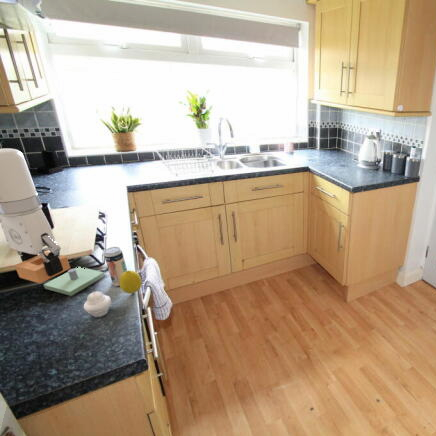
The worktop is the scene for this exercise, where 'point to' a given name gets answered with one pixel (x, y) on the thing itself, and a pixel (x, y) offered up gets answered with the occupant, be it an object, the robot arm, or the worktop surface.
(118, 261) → the beer can
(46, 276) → the orange block with hole
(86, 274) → the board
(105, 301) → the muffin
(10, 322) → the worktop surface
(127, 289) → the lemon
